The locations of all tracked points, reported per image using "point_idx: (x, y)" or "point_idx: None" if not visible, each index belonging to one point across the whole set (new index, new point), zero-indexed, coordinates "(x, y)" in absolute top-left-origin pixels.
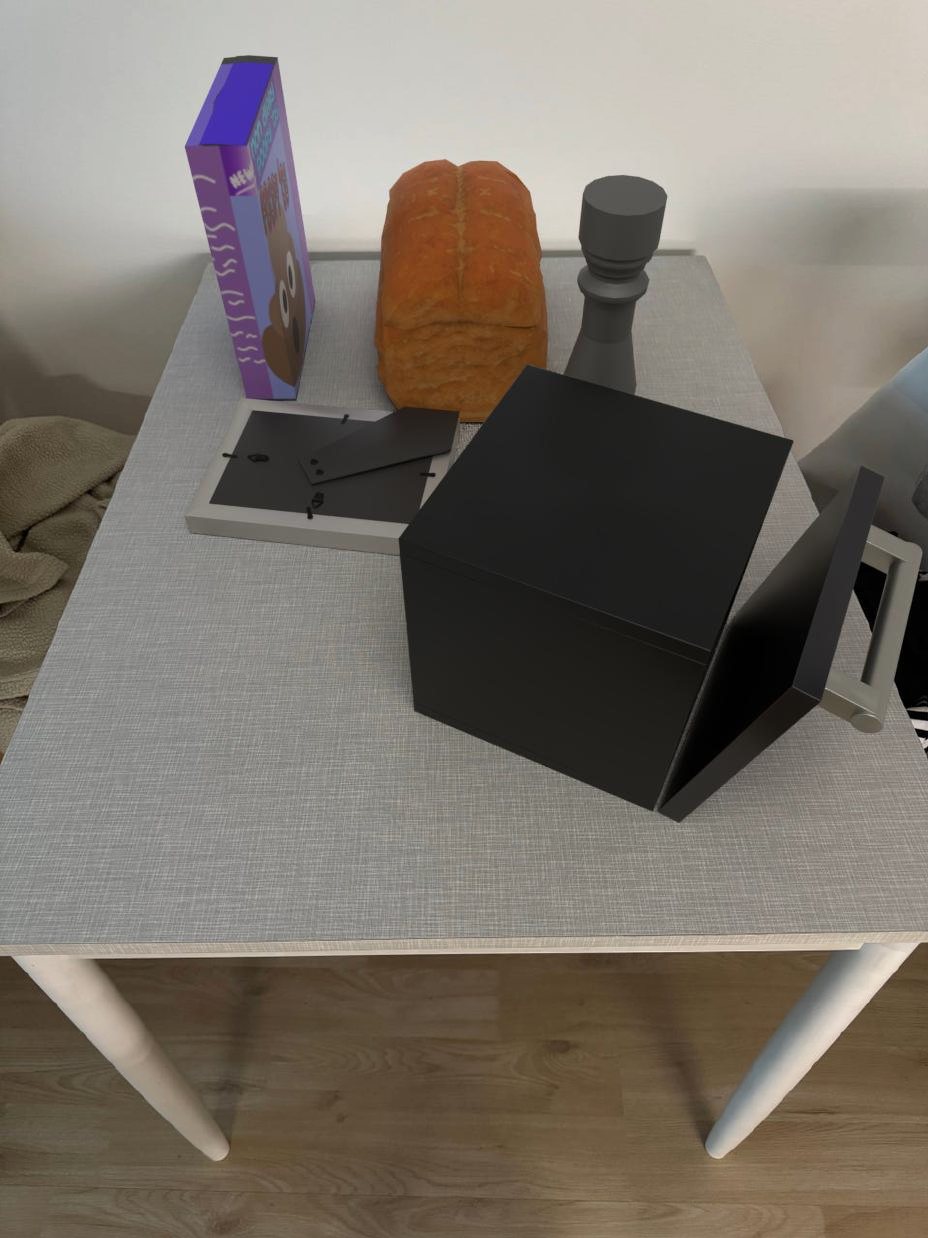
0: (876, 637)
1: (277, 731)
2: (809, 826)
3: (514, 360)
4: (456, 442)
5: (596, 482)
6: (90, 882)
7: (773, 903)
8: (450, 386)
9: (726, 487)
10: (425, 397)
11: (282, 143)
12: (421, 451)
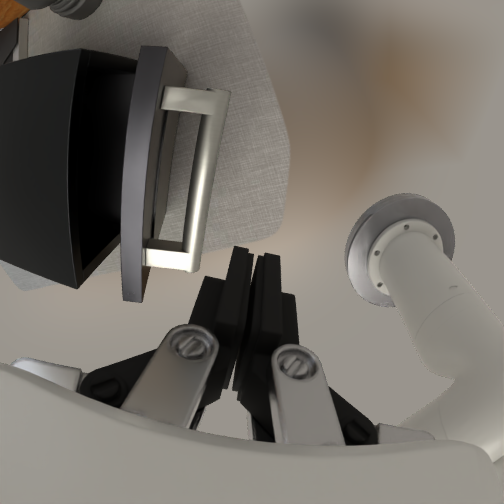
0: (188, 202)
1: None
2: (229, 198)
3: None
4: (24, 27)
5: None
6: (22, 277)
7: (214, 241)
8: (8, 12)
9: (42, 137)
10: (4, 21)
11: None
12: (7, 53)
